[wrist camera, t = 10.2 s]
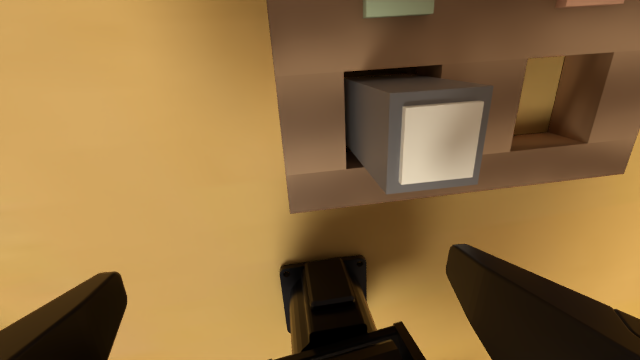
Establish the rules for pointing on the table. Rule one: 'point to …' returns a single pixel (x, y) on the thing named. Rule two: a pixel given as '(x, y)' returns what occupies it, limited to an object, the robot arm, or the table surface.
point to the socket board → (461, 65)
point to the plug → (417, 130)
